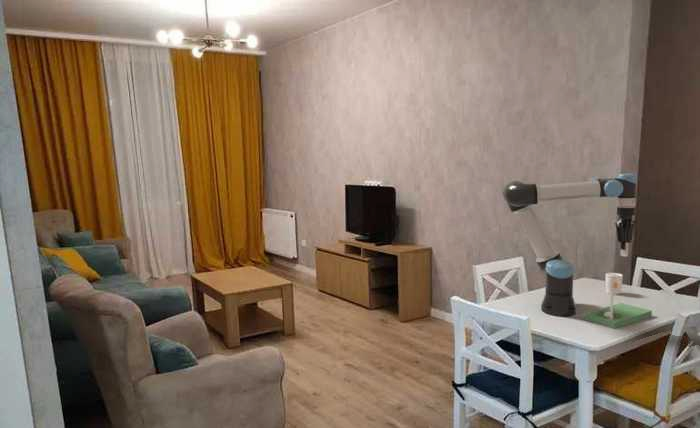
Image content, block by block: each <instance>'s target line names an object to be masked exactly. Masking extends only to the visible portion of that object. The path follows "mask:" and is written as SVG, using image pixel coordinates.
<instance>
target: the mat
mask: <svg viewBox="0 0 700 428" xmlns="http://www.w3.org/2000/svg"><path fill="white" fill-rule="evenodd" d="M652 311H653V310H651V309H648V308H647V309H646V308H642V307H638V306H634V305H630V304H627V303H622V302H620V303H619V302H618V303H615V304H613V315H614V317H613V321H610V317H606V316H603V315H604V313H605V312H610V305H609V306H606V307H603V308H599V309H595V310H592V311H588V312H586V313H583V320H586V321H589V322H592V323H595V324H598V325H602V326H606V327H609V328H612V329H617V328H620V327H624V326H626V325H629V324H632V323H633V324H634V323H635V322H637V321H638V322H639V321H641V320H644V319H648V318H650V317H652V316H653V314H652V313H653V312H652Z"/></svg>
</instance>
